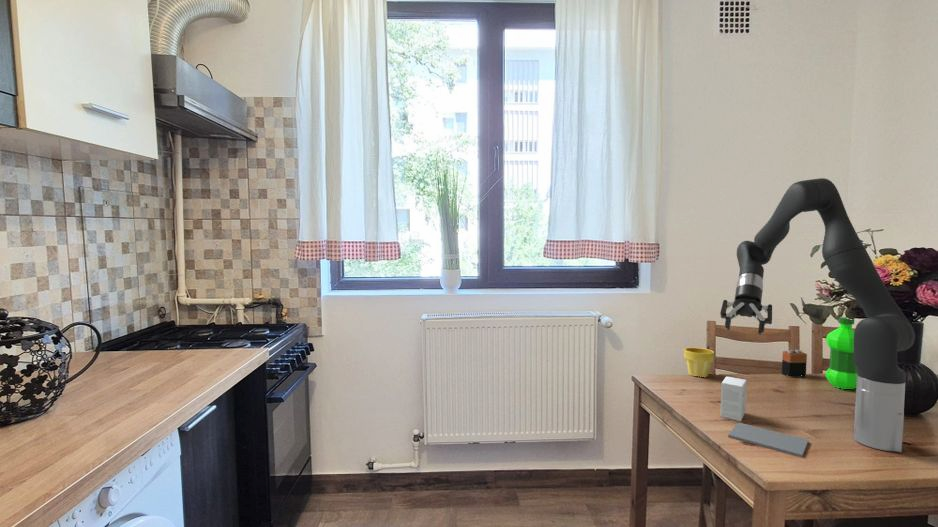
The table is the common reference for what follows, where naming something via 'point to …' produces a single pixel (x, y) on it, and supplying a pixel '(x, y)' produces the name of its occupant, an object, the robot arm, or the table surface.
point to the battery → (794, 363)
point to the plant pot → (698, 361)
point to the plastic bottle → (842, 356)
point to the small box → (733, 398)
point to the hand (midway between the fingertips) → (743, 330)
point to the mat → (769, 439)
